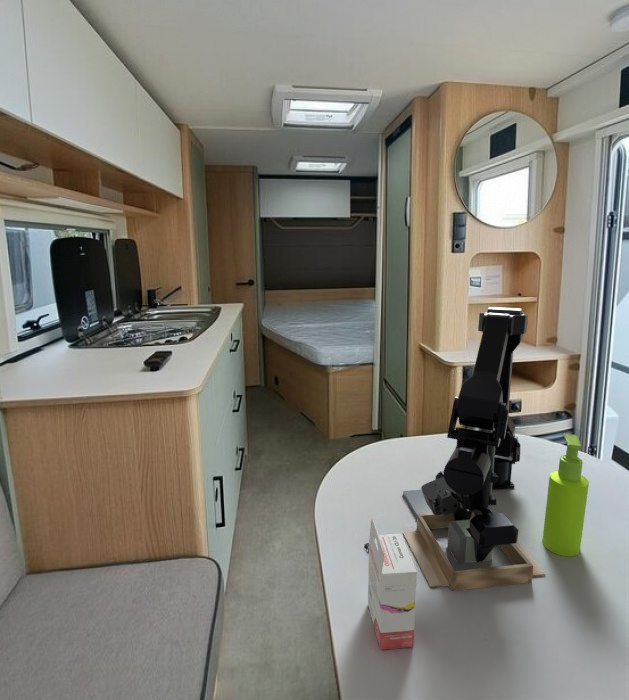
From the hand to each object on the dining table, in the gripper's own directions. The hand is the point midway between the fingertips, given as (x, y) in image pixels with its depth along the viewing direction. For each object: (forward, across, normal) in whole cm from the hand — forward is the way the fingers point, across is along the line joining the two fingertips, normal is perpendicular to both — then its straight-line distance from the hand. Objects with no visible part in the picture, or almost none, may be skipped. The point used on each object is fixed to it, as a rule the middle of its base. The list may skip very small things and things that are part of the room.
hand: (469, 547), depth 80 cm
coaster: (+1, -15, 0) cm, 15 cm away
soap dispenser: (+1, 0, +17) cm, 17 cm away
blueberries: (+2, -3, -15) cm, 15 cm away
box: (+1, 0, 0) cm, 1 cm away
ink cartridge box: (+1, +13, -18) cm, 22 cm away
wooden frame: (+1, 0, 0) cm, 1 cm away
